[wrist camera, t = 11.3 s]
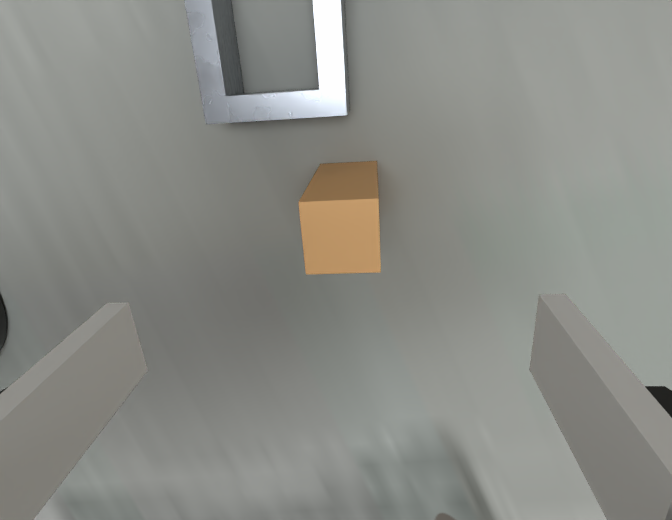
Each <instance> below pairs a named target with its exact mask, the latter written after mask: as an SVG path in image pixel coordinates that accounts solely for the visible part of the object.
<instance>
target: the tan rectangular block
mask: <svg viewBox="0 0 672 520" xmlns="http://www.w3.org/2000/svg"><path fill="white" fill-rule="evenodd" d="M299 212H300V222H301V232H302V241H303V251H304V261H305V271H306V274H340V273H376V272H381V262H380V228H379V195H378V173H377V161H366V162H347V163H328V164H320V166H319V167H318V169H317V171H316V173H315V174H314V176H313V178H312V179H311V181H310V183H309V185H308V186H307V188H306V190H305V192H304V193H303V195H302V197H301V199H300V200H299Z"/></svg>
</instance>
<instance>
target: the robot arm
mask: <svg viewBox="0 0 672 520" xmlns="http://www.w3.org/2000/svg"><path fill="white" fill-rule="evenodd" d="M6 327H7V326H6V315H5V311H4V307H3V304H2V301H1V299H0V350H1V348H2V346H3V343H4V341H5V337H6ZM529 370H530V371H531V373H532V375H533V377H534V379H535V381H536V383H537V385H538V387H539V389H540V391H541V393H542V395H543V397H544V399H545V401H546V402H547V404H548V406H549V408H550V410H551V412H552V414H553V416H554V418H555V420H556V422H557V424H558V426H559V428H560V430H561V432H562V433H563V435H564V437H565V439H566V441H567V443H568V445H569V447H570V449H571V451H572V453H573V455H574V457H575V459H576V461H577V463H578V464H579V466H580V468H581V470H582V472H583V474H584V476H585V478H586V480H587V482H588V484H589V486H590V488H591V490H592V492H593V493H594V495H595V497H596V499H597V501H598V503H599V505H600V507H601V509H602V511H603V513H604V515H605V517H606V519H607V520H672V391H671V390H670V389H668V388H666V387H665V386H644V385H643V384H642V383H641V381H640V380H639V379H638V378H637V377H636V376H635V374H634V373H633V372H632V371H631V370H630V369H629V367H628V366H627V365H626V364H625V363H624V362H623V360H622V359H621V358H620V357H619V356H618V355H617V353H616V352H615V351H614V350H613V349H612V348H611V346H610V345H609V344H608V343H607V342H606V341H605V339H604V338H603V337H602V336H601V335H600V334H599V332H598V331H597V330H596V329H595V328H594V327H593V325H592V324H591V323H590V322H589V321H588V320H587V318H586V317H585V316H584V315H583V314H582V313H581V311H580V310H579V309H578V308H577V307H576V306H575V304H574V303H573V302H572V301H571V300H570V299H569V297H568V296H567V295H566V294H539V298H538V306H537V314H536V322H535V330H534V338H533V345H532V353H531V361H530V369H529ZM147 371H148V369H147V365H146V362H145V358H144V355H143V351H142V348H141V344H140V341H139V337H138V334H137V330H136V327H135V323H134V320H133V316H132V312H131V309H130V305H129V302H127V303H106V304H105V305H104V306H103V307H102V308H101V309H99V310H98V311H97V312H96V313H95V314H93V315H92V316H91V317H90V318H89V319H88V320H86V321H85V322H84V323H83V324H82V325H81V326H79V327H78V328H77V329H76V330H75V331H74V332H72V333H71V334H70V335H69V336H68V337H67V338H65V339H64V340H63V341H62V342H61V343H59V344H58V345H57V346H56V347H55V348H54V349H52V350H51V351H50V352H49V353H48V354H47V355H45V356H44V357H43V358H42V359H41V360H40V361H38V362H37V363H36V364H35V365H34V366H33V367H31V368H30V369H29V370H28V371H27V372H26V373H24V374H23V375H22V376H21V377H20V378H18V379H17V380H16V381H15V382H14V383H13V384H11V385H10V386H9V387H7V388H6V389H4V390H2V391H0V520H33V519H34V518H35V517H36V516H37V514H38V513H39V512H40V510H41V509H42V508H43V506H44V505H45V504H46V502H47V501H48V500H49V499H50V497H51V496H52V495H53V493H54V492H55V491H56V489H57V488H58V487H59V486H60V484H61V483H62V482H63V480H64V479H65V478H66V476H67V475H68V474H69V473H70V471H71V470H72V469H73V467H74V466H75V465H76V463H77V462H78V461H79V460H80V458H81V457H82V456H83V454H84V453H85V452H86V450H87V449H88V448H89V447H90V445H91V444H92V443H93V441H94V440H95V439H96V437H97V436H98V435H99V433H100V432H101V431H102V430H103V428H104V427H105V426H106V424H107V423H108V422H109V420H110V419H111V418H112V417H113V415H114V414H115V413H116V411H117V410H118V409H119V407H120V406H121V405H122V404H123V402H124V401H125V400H126V398H127V397H128V396H129V394H130V393H131V392H132V391H133V389H134V388H135V387H136V385H137V384H138V383H139V381H140V380H141V379H142V378H143V376H144V375H145V374H146V372H147Z"/></svg>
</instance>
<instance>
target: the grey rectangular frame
mask: <svg viewBox="0 0 672 520" xmlns="http://www.w3.org/2000/svg"><path fill="white" fill-rule="evenodd" d="M184 1H185V7H186V13H187V18H188V24H189V30H190V35H191V41H192V47H193V53H194V58H195V64H196V70H197V76H198V81H199V87H200V93H201V98H202V104H203V110H204V116H205V121H206V124H218V123H233V122H249V121H265V120H281V119H297V118H313V117H328V116H344V115H347V114H348V113H349V111H350V99H349V80H348V60H347V41H346V21H345V2H344V0H313V10H314V23H315V37H316V50H317V63H318V76H319V88H315V89H301V90H286V91H272V92H258V93H244V89H243V82H242V75H241V67H240V60H239V53H238V46H237V39H236V31H235V24H234V17H233V10H232V3H231V0H184Z"/></svg>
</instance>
